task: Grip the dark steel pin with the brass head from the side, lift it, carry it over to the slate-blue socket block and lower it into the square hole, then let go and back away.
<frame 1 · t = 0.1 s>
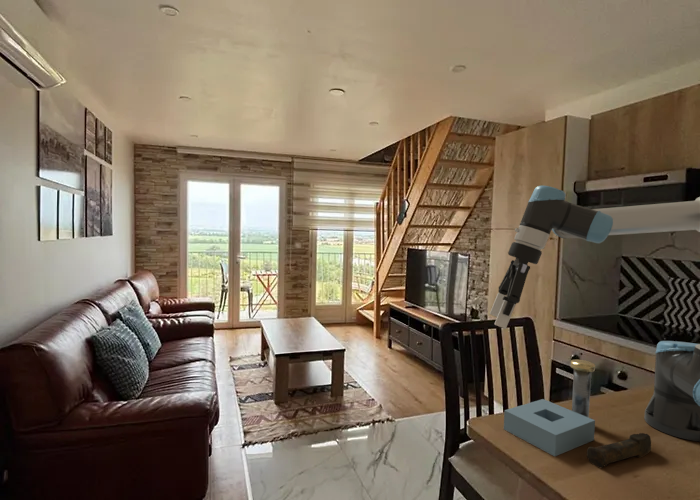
hand: (496, 321, 103), 28 cm above the table, tool tilted 20°, fingers open, 13 cm apart
socket block: (547, 434, 99), on the table
pin: (579, 422, 106), on the table
dark brown wooden club: (620, 458, 90), on the table
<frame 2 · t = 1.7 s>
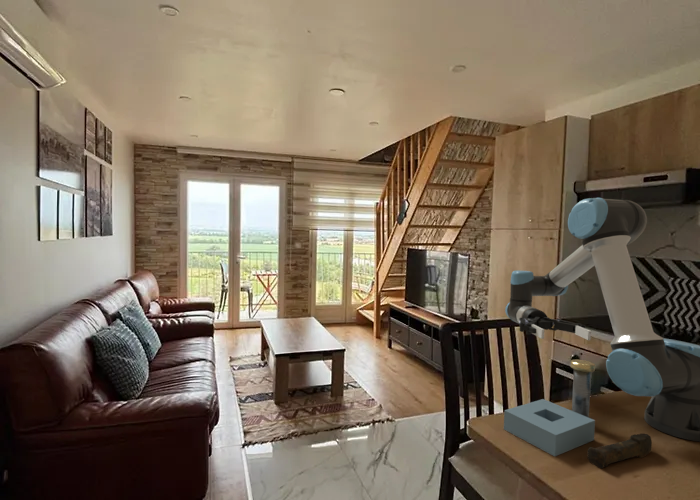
hand: (566, 334, 114), 22 cm above the table, tool horizontal, fingers open, 13 cm apart
nothing on the table moved.
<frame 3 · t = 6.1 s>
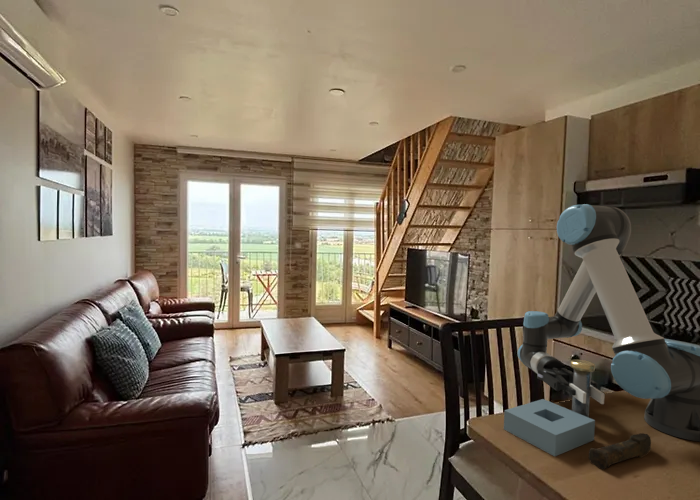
hand: (593, 398, 100), 9 cm above the table, tool horizontal, fingers closed on pin, 4 cm apart
pin: (579, 422, 106), on the table, touching gripper
everything else where it was.
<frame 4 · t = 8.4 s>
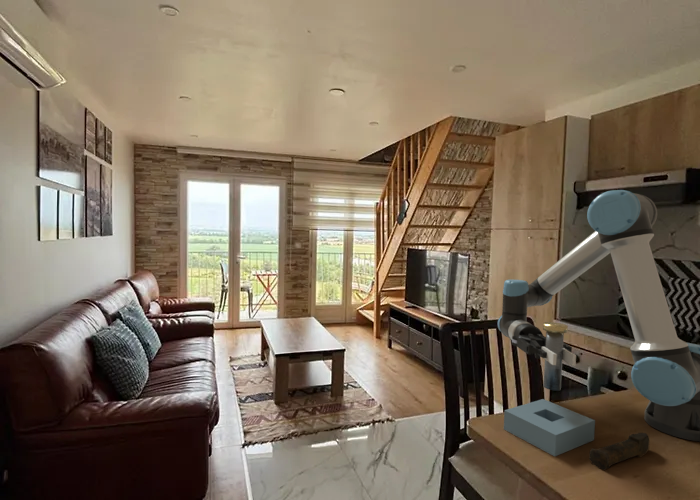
hand: (564, 360, 96), 20 cm above the table, tool horizontal, fingers closed on pin, 4 cm apart
pin: (552, 387, 101), point 11 cm above the table, touching gripper
everything else where it was.
when the fingers open (11 cm above the table, at t = 11.0 s): pin stays where it is, resting on socket block.
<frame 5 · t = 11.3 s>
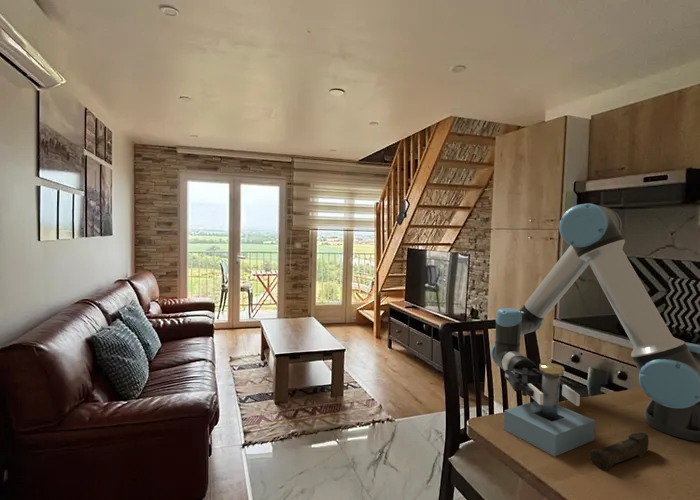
hand: (559, 399, 94), 11 cm above the table, tool horizontal, fingers open, 8 cm apart
pin: (547, 430, 99), point 1 cm above the table, touching socket block
everything else where it was.
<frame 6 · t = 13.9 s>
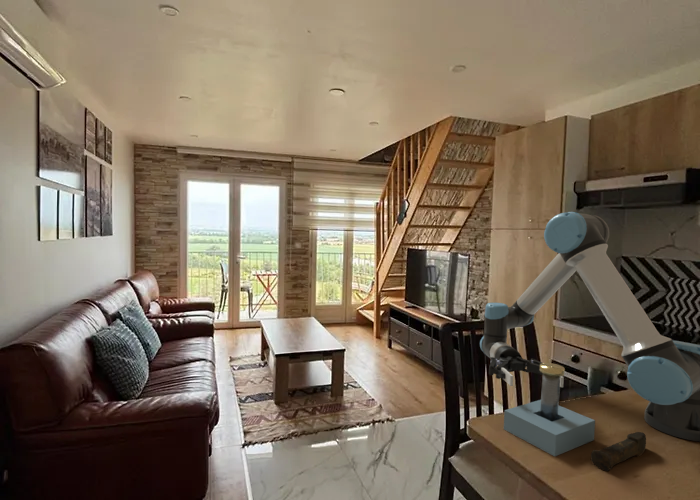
hand: (536, 381, 105), 11 cm above the table, tool horizontal, fingers open, 13 cm apart
nothing on the table moved.
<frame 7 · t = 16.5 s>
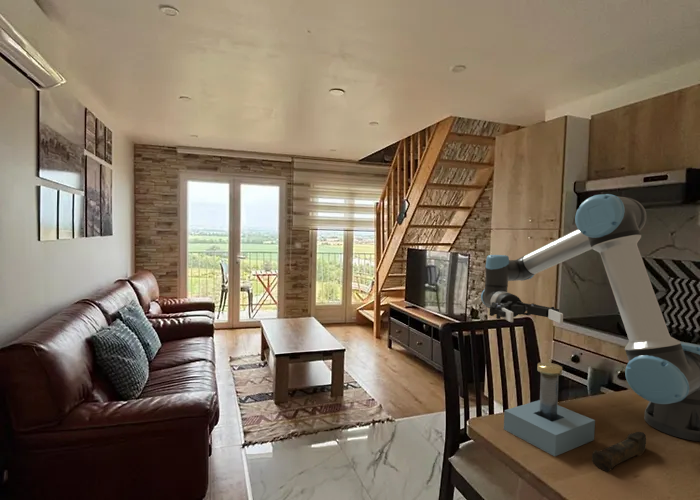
hand: (536, 318, 107), 28 cm above the table, tool horizontal, fingers open, 13 cm apart
nothing on the table moved.
at the end: pin 0.1 cm off-centre on the socket block, point 1.0 cm above the socket block's base; pin tilted 1°; the gripper is holding nothing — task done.
